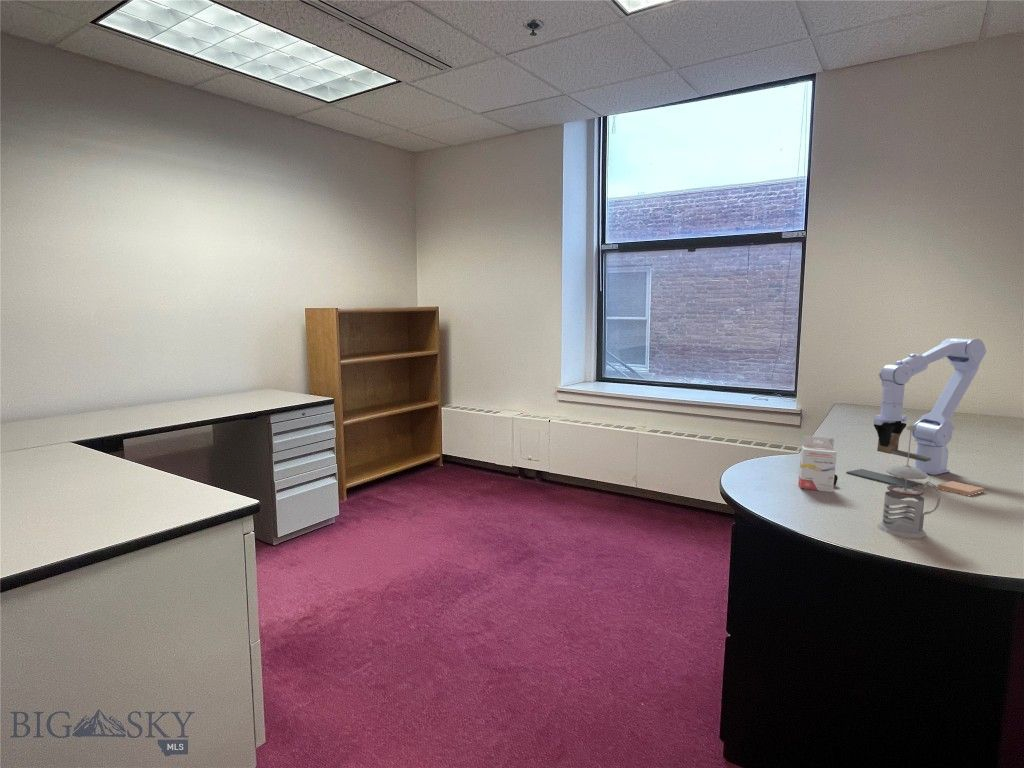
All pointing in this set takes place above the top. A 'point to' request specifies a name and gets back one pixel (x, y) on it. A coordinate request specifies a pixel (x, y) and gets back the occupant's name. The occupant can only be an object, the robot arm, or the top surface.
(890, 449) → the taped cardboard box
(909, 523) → the french press
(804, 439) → the ink cartridge box
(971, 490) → the tile
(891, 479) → the tool mat
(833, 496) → the top surface
